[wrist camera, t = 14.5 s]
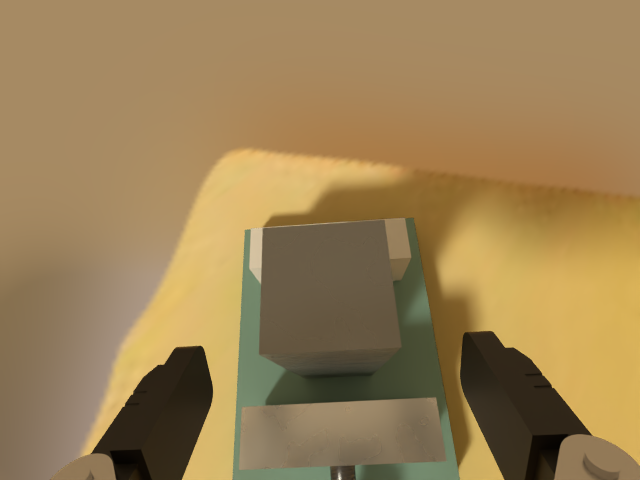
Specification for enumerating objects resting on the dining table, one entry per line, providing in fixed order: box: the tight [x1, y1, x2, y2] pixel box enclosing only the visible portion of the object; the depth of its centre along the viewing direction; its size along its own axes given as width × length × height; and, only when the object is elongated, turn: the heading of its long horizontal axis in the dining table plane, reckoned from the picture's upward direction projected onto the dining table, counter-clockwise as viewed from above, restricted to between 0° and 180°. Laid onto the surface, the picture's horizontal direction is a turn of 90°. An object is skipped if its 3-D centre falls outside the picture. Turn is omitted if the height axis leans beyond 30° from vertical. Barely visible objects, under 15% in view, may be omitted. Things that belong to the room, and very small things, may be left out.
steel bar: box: [259, 220, 402, 379], centre depth 16 cm, size 4×4×12 cm
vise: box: [233, 218, 460, 480], centre depth 21 cm, size 16×12×6 cm
